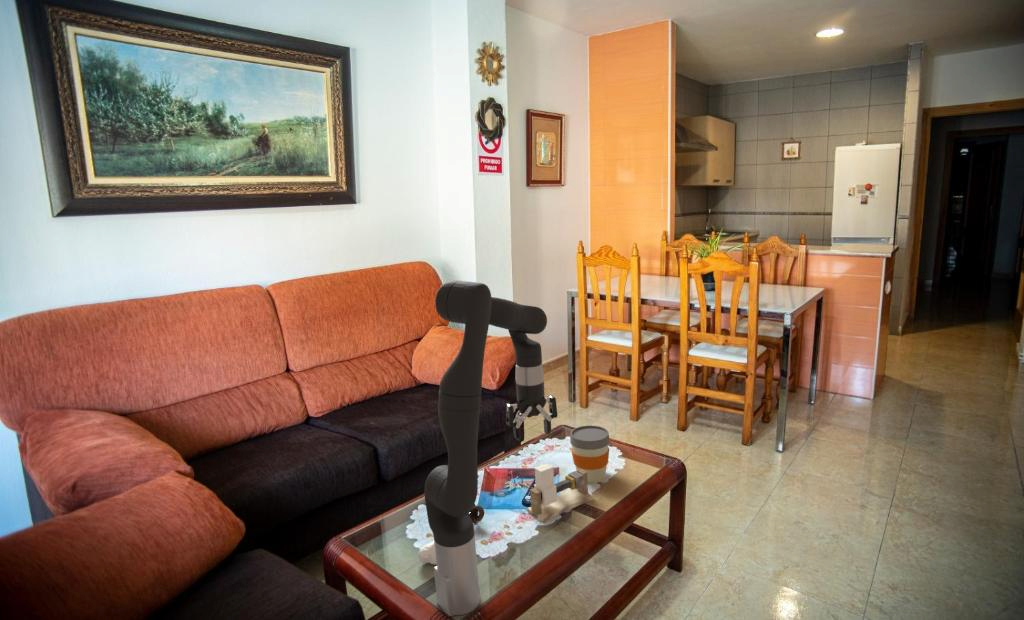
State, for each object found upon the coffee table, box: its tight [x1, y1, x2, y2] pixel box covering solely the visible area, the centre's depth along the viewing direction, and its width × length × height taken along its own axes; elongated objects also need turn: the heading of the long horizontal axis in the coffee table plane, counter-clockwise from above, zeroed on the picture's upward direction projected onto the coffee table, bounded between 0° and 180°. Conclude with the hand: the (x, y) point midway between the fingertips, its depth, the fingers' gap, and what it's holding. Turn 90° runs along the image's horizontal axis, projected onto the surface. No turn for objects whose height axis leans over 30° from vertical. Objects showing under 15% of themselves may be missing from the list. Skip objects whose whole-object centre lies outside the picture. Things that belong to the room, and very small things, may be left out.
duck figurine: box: [417, 531, 437, 566], centre depth 155 cm, size 12×8×11 cm
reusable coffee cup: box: [569, 424, 611, 484], centre depth 193 cm, size 13×12×15 cm
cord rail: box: [526, 469, 594, 523], centre depth 178 cm, size 19×7×8 cm, turn 124°
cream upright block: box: [533, 463, 558, 506], centre depth 174 cm, size 4×5×10 cm
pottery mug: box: [468, 504, 485, 526], centre depth 173 cm, size 12×10×8 cm
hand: (532, 436), depth 165 cm, fingers open, 8 cm apart
